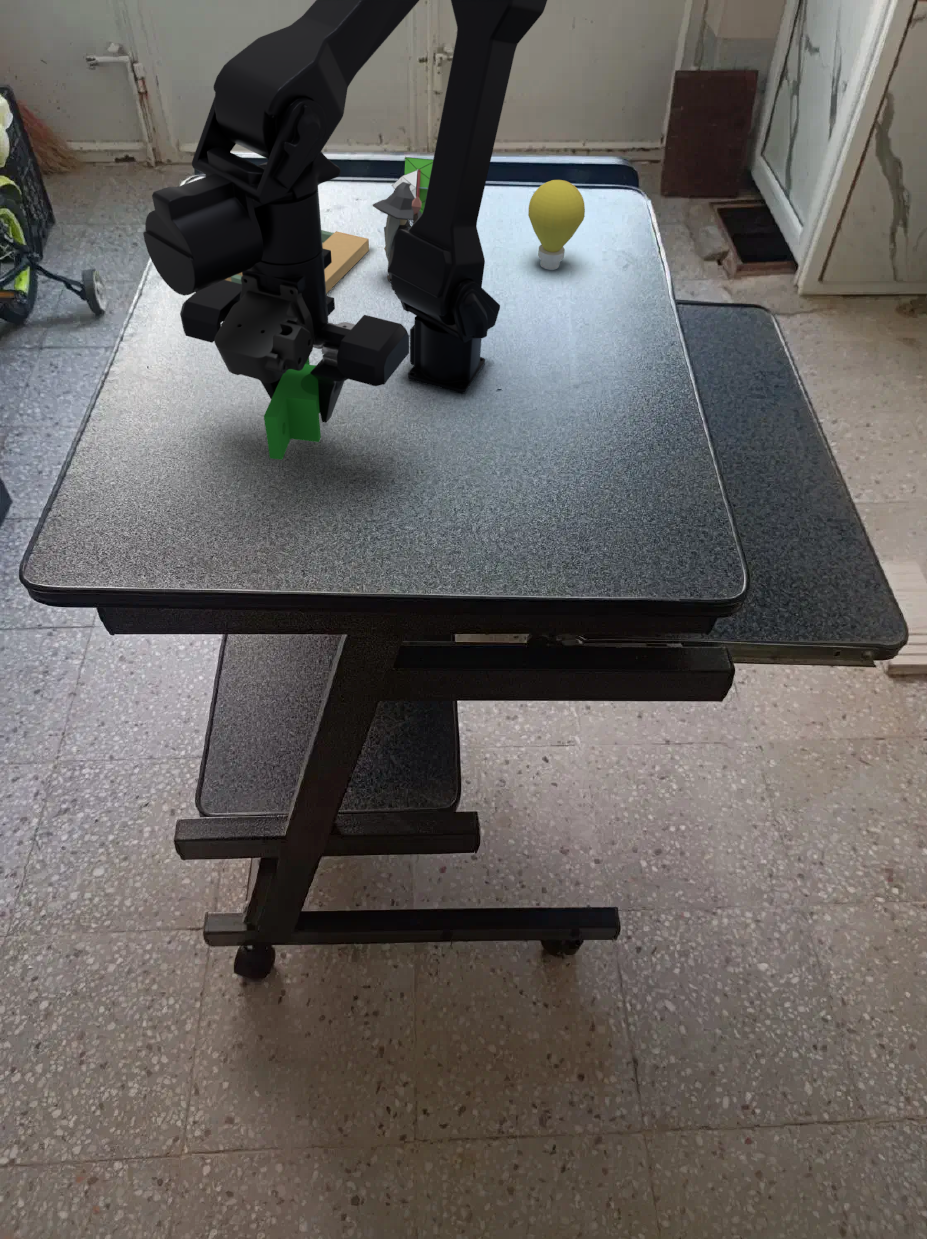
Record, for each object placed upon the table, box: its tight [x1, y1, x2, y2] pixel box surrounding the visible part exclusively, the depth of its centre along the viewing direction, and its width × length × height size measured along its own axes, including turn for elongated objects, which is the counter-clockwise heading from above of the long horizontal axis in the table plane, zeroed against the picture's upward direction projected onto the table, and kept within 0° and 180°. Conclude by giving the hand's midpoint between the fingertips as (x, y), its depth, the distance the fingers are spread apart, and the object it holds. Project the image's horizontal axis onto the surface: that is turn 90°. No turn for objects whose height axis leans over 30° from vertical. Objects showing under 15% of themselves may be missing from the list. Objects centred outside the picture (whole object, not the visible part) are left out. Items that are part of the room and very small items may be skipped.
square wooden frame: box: [225, 229, 370, 295], centre depth 108 cm, size 15×15×2 cm
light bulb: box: [527, 179, 586, 271], centre depth 107 cm, size 7×7×10 cm
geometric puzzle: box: [391, 155, 433, 213], centre depth 116 cm, size 7×7×8 cm
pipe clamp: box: [263, 357, 322, 460], centre depth 81 cm, size 11×4×5 cm, turn 173°
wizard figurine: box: [372, 182, 422, 283], centre depth 102 cm, size 8×6×12 cm
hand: (303, 413), depth 81 cm, fingers closed on pipe clamp, 4 cm apart
